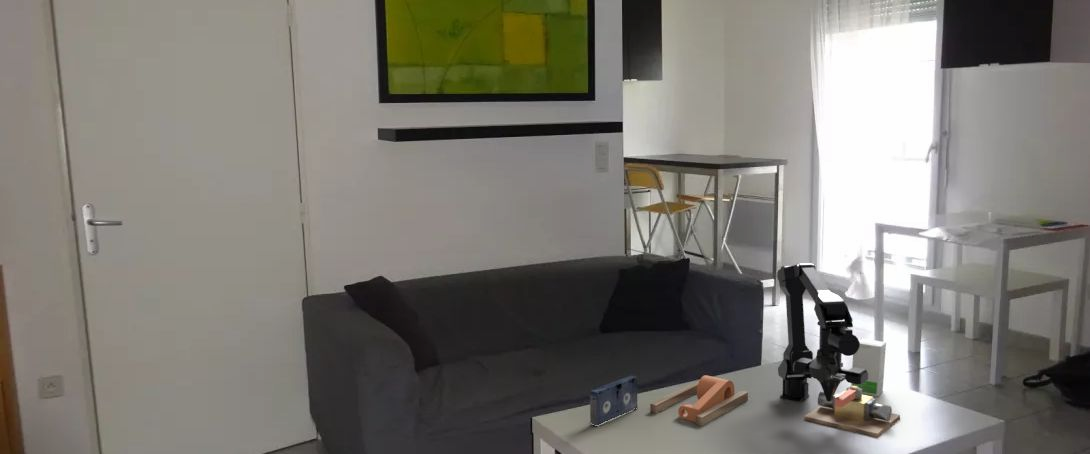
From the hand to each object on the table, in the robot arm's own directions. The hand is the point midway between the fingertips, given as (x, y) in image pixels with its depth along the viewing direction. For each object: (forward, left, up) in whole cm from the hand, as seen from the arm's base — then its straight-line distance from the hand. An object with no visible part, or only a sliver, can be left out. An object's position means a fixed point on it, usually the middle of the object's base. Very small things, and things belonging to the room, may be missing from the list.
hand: (829, 401), depth 223 cm
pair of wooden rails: (-35, -9, -7) cm, 36 cm away
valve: (+3, +9, -7) cm, 11 cm away
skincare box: (-2, +33, -7) cm, 33 cm away
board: (+3, +8, -7) cm, 11 cm away
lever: (+3, +4, 0) cm, 5 cm away
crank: (-32, -11, -7) cm, 34 cm away
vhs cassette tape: (-49, -32, -7) cm, 59 cm away
